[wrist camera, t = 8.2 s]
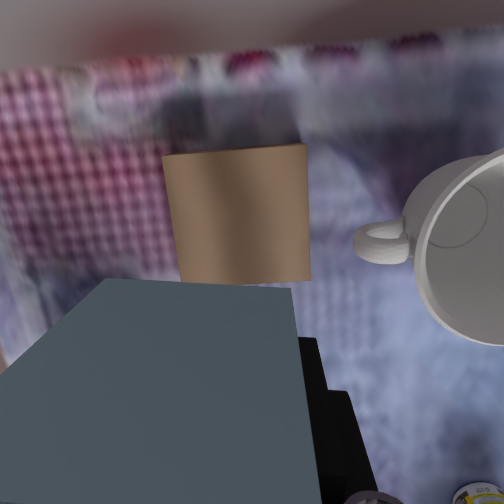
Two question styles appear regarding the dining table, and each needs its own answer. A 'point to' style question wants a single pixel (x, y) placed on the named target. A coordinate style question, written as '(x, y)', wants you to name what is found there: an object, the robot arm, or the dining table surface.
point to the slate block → (161, 401)
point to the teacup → (451, 245)
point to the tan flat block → (240, 214)
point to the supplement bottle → (479, 494)
